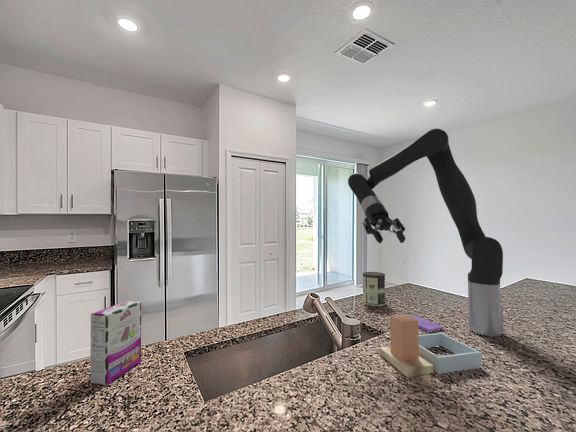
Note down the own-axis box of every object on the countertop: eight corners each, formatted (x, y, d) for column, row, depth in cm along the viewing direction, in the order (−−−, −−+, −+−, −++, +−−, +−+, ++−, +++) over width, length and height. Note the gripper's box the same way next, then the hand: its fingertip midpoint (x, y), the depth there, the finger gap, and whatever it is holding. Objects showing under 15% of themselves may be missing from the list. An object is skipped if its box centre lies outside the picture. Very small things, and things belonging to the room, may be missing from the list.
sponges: (415, 320, 108) (415, 315, 108) (444, 331, 96) (444, 326, 96) (401, 322, 105) (401, 317, 105) (429, 334, 94) (429, 329, 94)
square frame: (441, 345, 84) (441, 332, 84) (481, 367, 71) (480, 352, 71) (404, 350, 81) (404, 336, 81) (438, 374, 68) (438, 357, 68)
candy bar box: (125, 360, 74) (127, 300, 74) (141, 362, 73) (142, 301, 73) (87, 384, 63) (89, 312, 64) (105, 386, 62) (107, 314, 63)
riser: (402, 351, 80) (402, 344, 80) (433, 373, 68) (433, 365, 68) (379, 354, 78) (379, 347, 78) (407, 377, 66) (407, 368, 66)
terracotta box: (406, 350, 76) (405, 314, 77) (418, 358, 71) (418, 320, 72) (390, 352, 75) (390, 315, 75) (402, 360, 70) (401, 321, 71)
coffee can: (381, 300, 134) (380, 271, 135) (388, 306, 124) (388, 275, 124) (360, 300, 134) (360, 271, 135) (365, 306, 124) (365, 275, 125)
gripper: (360, 201, 100) (378, 234, 88) (394, 202, 103) (415, 233, 92) (353, 216, 105) (369, 248, 93) (386, 217, 108) (405, 248, 97)
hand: (392, 241), depth 93 cm, fingers open, 8 cm apart
